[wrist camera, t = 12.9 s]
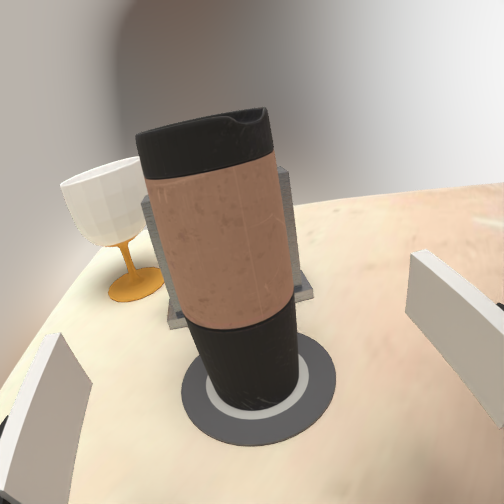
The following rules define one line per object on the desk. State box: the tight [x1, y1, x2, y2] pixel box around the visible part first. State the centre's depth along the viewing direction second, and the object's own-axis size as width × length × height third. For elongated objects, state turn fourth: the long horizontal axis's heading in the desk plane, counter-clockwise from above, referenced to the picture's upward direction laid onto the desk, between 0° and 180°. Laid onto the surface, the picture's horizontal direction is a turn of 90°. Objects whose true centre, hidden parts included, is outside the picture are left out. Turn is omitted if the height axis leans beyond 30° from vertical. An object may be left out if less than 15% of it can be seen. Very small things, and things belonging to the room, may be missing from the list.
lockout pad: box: [181, 332, 336, 446], centre depth 26 cm, size 13×13×1 cm
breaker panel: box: [141, 166, 313, 330], centre depth 33 cm, size 16×5×14 cm, turn 99°
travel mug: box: [136, 107, 299, 411], centre depth 21 cm, size 8×8×20 cm
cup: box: [60, 156, 164, 302], centre depth 41 cm, size 12×12×17 cm
